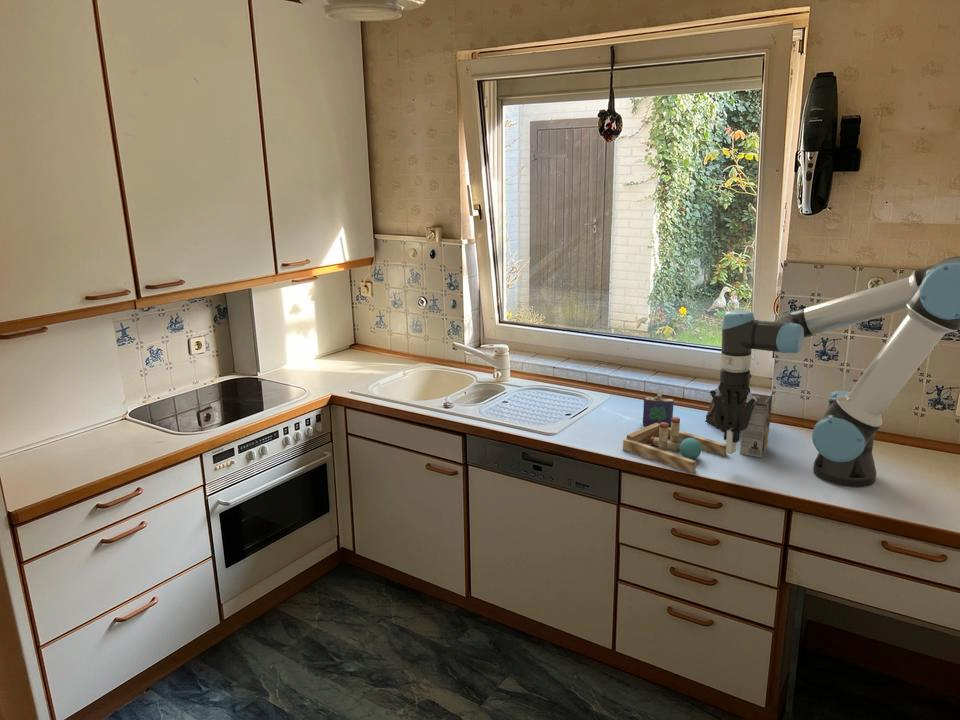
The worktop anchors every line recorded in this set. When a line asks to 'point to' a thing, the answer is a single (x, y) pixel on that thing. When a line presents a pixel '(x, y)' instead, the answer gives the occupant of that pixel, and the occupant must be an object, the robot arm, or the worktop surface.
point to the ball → (690, 448)
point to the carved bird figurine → (712, 414)
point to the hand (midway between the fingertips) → (730, 452)
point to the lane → (642, 436)
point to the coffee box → (757, 427)
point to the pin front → (670, 445)
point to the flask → (657, 410)
